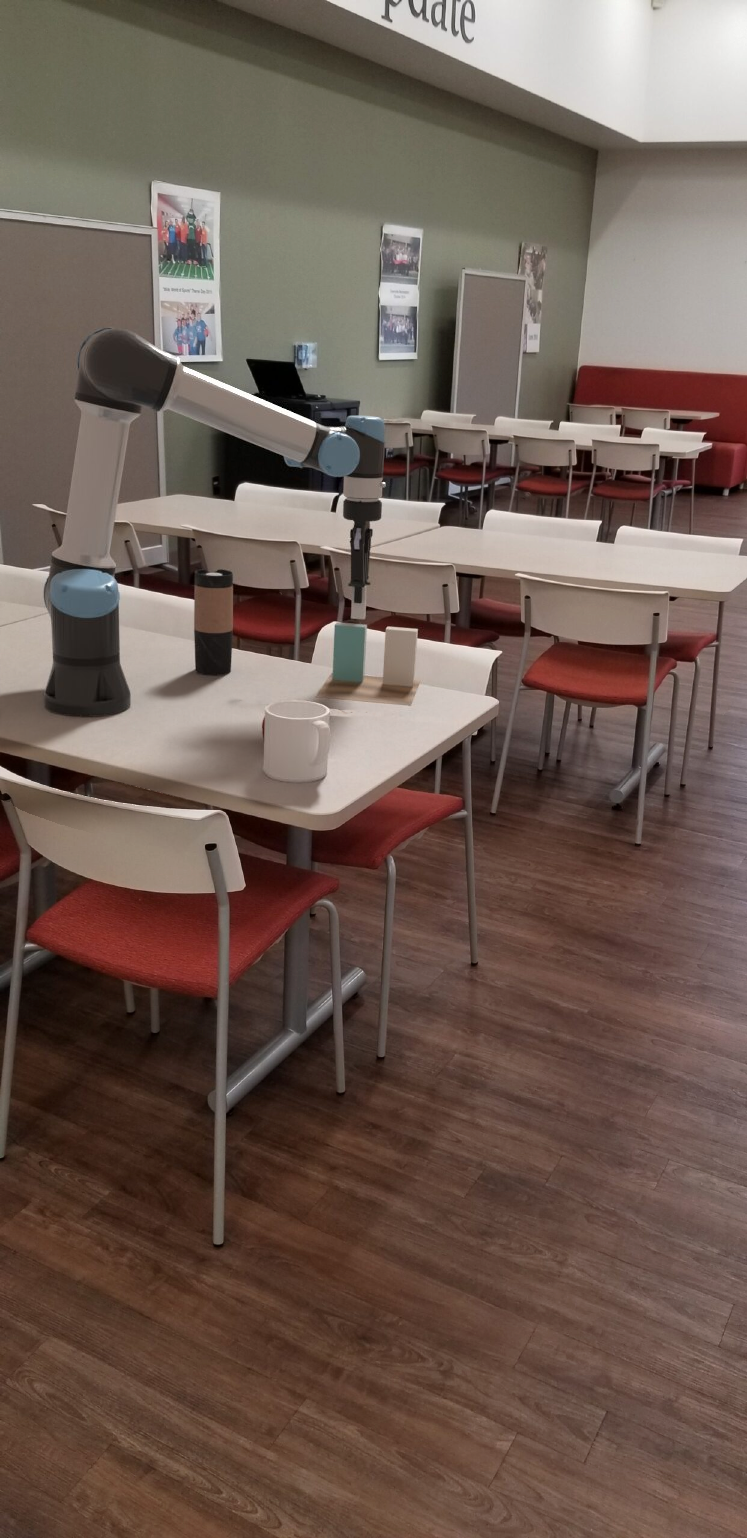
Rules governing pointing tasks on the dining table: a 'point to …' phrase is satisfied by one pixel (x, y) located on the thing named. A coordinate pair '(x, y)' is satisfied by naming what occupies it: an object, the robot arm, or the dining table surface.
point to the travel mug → (213, 621)
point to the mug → (296, 741)
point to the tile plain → (400, 656)
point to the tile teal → (349, 652)
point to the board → (368, 691)
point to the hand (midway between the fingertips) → (358, 617)
